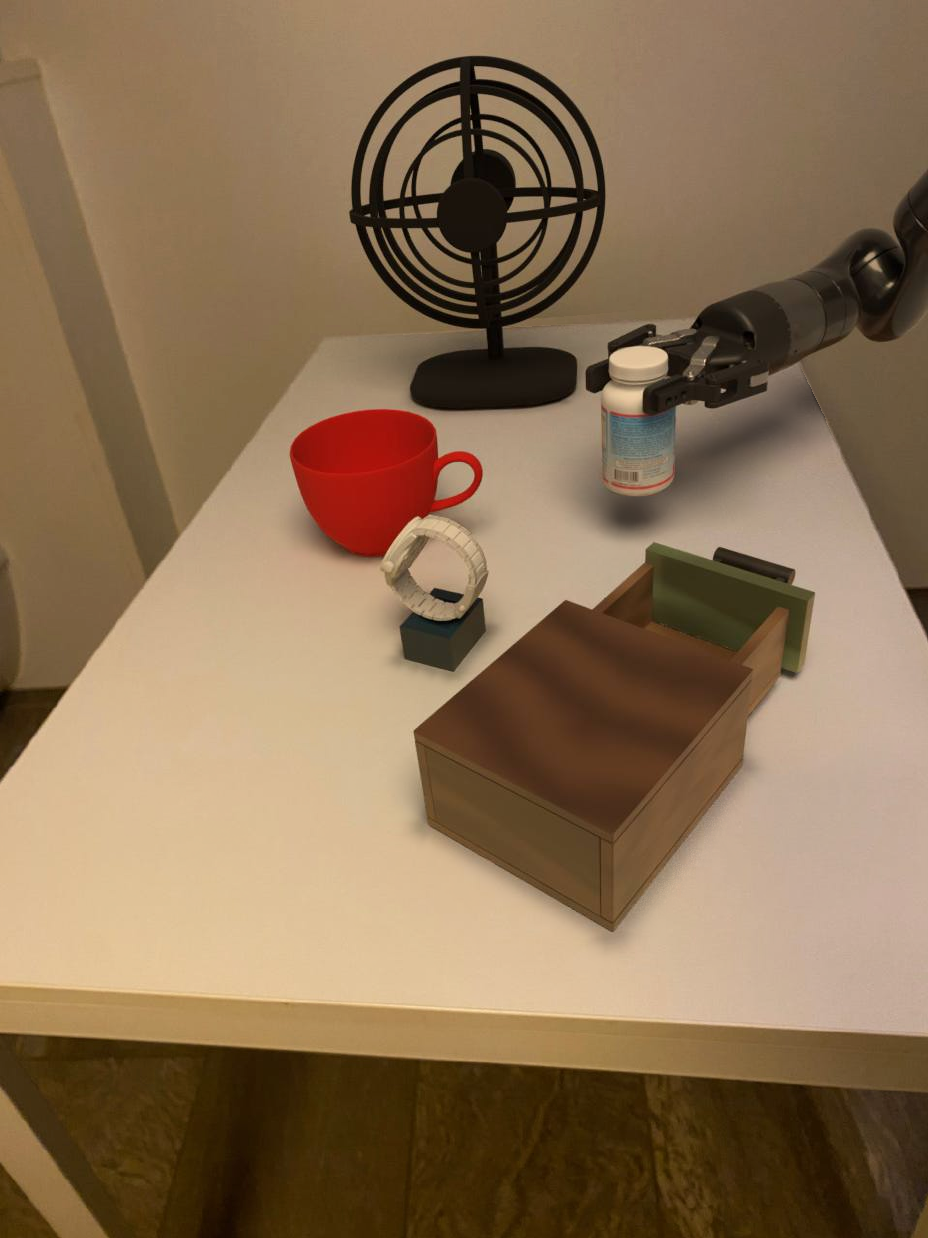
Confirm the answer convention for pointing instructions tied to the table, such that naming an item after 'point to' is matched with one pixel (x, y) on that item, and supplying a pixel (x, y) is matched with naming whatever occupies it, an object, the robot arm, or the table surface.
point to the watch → (437, 595)
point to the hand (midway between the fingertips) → (616, 391)
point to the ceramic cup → (373, 475)
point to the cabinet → (585, 756)
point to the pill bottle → (636, 425)
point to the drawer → (720, 609)
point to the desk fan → (481, 238)
